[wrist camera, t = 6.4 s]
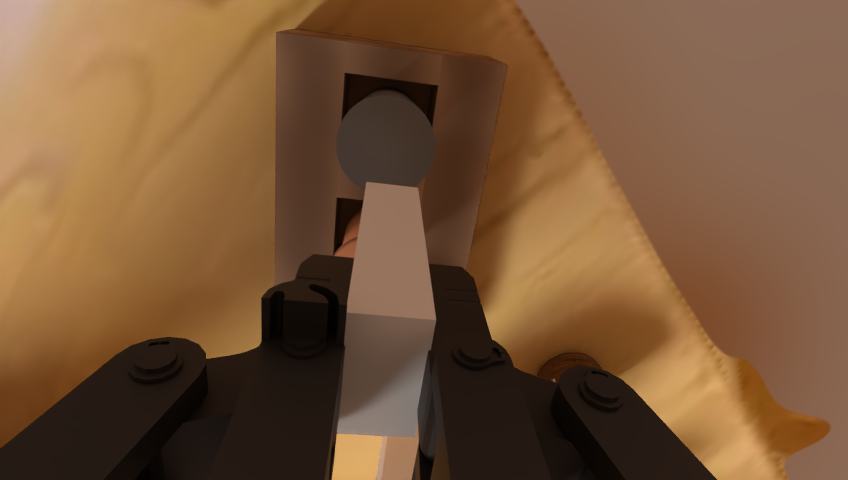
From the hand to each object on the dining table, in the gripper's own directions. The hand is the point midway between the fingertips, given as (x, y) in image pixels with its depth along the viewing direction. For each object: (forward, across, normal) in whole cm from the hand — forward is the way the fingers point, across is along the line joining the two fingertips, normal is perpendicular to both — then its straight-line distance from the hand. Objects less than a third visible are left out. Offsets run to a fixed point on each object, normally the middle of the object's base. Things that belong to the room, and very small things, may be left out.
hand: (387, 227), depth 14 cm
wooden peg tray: (+19, 0, -7) cm, 20 cm away
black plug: (+15, 0, 0) cm, 15 cm away
